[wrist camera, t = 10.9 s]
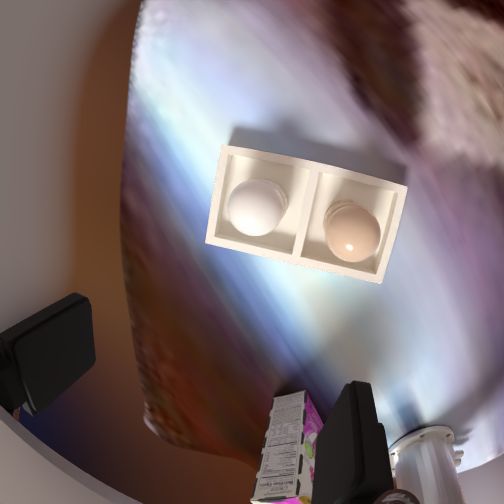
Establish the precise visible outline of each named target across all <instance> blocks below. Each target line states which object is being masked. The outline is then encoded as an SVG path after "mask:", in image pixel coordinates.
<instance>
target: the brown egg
mask: <svg viewBox="0 0 504 504" xmlns="http://www.w3.org/2000/svg"><path fill="white" fill-rule="evenodd" d="M323 229H324V234H325V238H326V242H327V245H328V247H329V249H330V250H331V252H332V253H333V254H334V255H335V256H337V257H338V258H340V259H342V260H344V261H347V262H359V261H363V260H365V259H367V258H368V257H370V256H371V255H372V254H373V253H374V252H375V250H376V249H377V247H378V245H379V242H380V238H381V230H380V225H379V223H378V220H377V219H376V217H375V216H374V214H373V213H372V212H371V211H369V210H368V209H366V208H365V207H363V206H361V205H360V204H358V203H356V202H354V201H350V200H343V201H339V202H336V203H334V204H333V205H332V206H330V208H329V209H328V210H327V211H326V213H325V215H324V219H323Z"/></svg>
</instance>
